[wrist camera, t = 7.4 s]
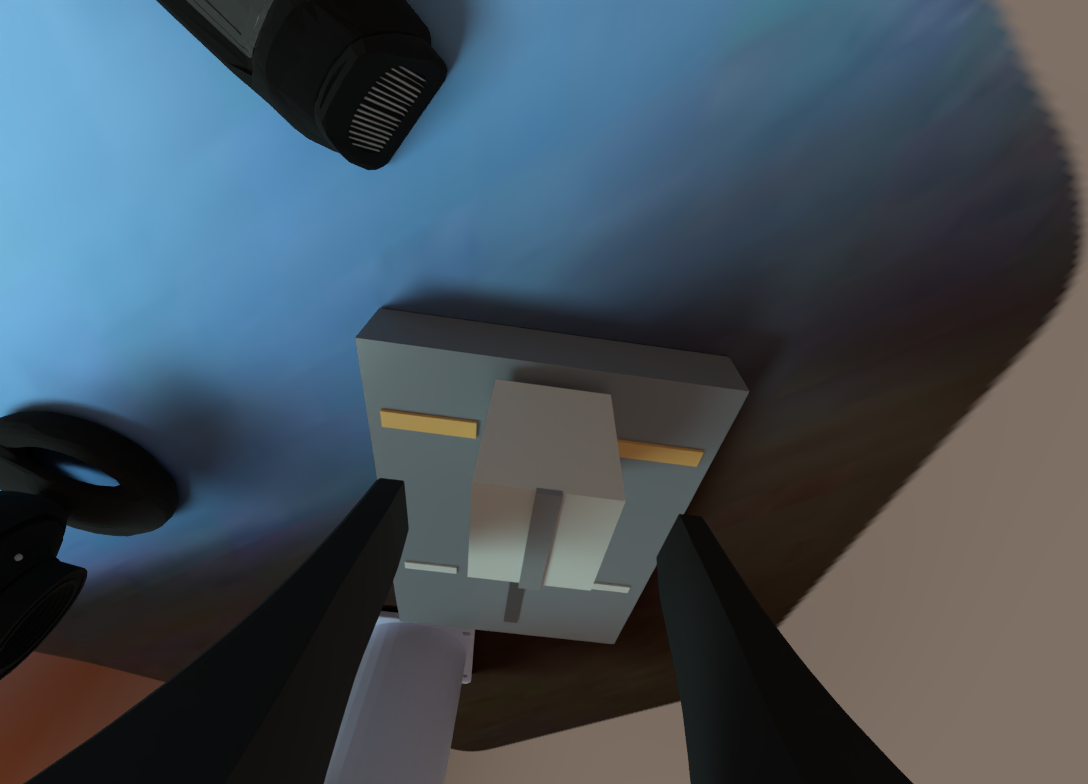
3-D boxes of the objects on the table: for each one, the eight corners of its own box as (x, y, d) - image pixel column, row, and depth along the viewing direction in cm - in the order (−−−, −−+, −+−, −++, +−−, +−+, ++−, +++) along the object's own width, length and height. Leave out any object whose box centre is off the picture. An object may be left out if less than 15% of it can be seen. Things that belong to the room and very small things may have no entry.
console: (610, 608, 25) (614, 646, 24) (410, 586, 25) (399, 623, 23) (729, 356, 15) (750, 393, 13) (379, 308, 14) (353, 339, 12)
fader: (585, 483, 15) (590, 596, 12) (488, 471, 15) (466, 582, 12) (611, 393, 13) (626, 504, 9) (495, 377, 13) (470, 485, 9)
